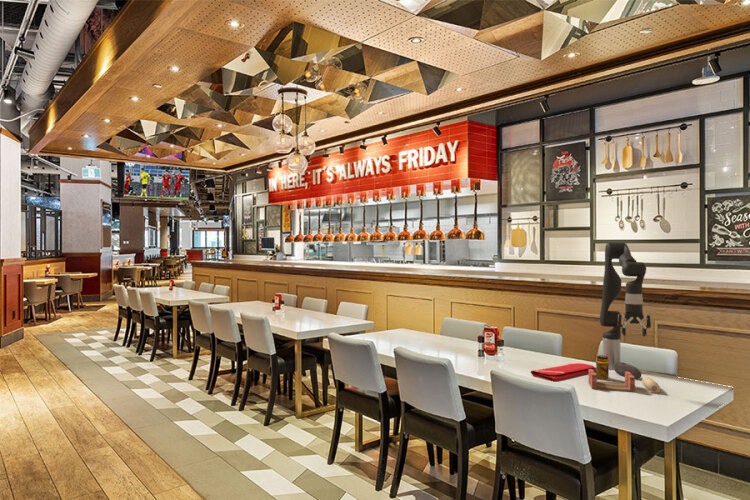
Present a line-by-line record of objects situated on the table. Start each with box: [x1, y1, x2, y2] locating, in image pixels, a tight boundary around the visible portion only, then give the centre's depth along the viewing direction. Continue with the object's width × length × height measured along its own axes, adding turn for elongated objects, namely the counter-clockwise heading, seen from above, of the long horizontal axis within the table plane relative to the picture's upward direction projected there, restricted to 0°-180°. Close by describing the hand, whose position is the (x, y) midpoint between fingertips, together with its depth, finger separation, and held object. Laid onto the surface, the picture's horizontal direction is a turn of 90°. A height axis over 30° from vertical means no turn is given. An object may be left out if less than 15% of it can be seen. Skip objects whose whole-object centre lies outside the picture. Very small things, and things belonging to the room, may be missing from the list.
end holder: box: [587, 369, 636, 393], centre depth 238 cm, size 12×19×7 cm, turn 74°
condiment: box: [595, 354, 610, 382], centre depth 255 cm, size 7×8×12 cm
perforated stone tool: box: [614, 361, 642, 380], centre depth 258 cm, size 15×5×7 cm, turn 22°
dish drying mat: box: [530, 362, 596, 382], centre depth 266 cm, size 16×41×4 cm, turn 123°
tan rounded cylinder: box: [641, 376, 661, 394], centre depth 234 cm, size 12×5×5 cm, turn 164°
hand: (633, 335), depth 234 cm, fingers open, 8 cm apart
